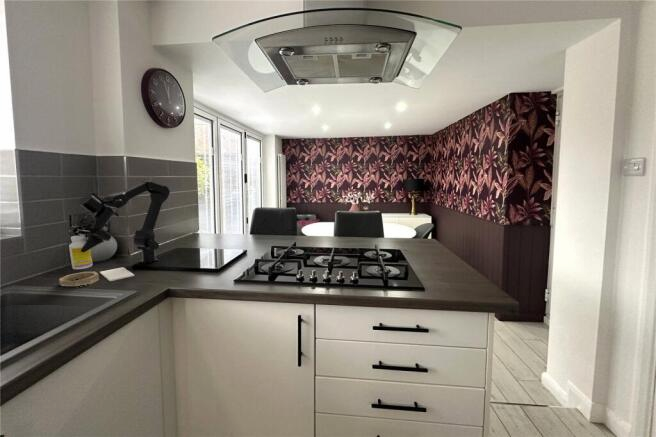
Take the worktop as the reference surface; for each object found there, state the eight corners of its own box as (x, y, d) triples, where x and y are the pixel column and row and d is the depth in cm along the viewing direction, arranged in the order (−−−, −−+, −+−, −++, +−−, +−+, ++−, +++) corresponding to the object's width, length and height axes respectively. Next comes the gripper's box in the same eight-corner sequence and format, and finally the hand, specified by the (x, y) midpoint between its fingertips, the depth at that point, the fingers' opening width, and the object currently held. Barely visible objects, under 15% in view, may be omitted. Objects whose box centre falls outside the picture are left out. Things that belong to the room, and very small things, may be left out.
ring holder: (58, 282, 131) (57, 276, 131) (94, 275, 140) (93, 269, 139) (63, 290, 123) (62, 283, 122) (101, 281, 131) (100, 276, 131)
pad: (100, 273, 143) (99, 271, 143) (123, 268, 149) (123, 267, 149) (109, 281, 132) (109, 280, 132) (134, 275, 138) (134, 274, 138)
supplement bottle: (95, 266, 132) (91, 235, 130) (76, 270, 127) (71, 239, 125) (88, 263, 136) (84, 234, 134) (69, 268, 131) (64, 237, 128)
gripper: (69, 207, 135) (43, 238, 126) (99, 208, 128) (73, 242, 119) (92, 222, 143) (68, 253, 135) (121, 224, 136) (98, 257, 128)
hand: (76, 251), depth 129 cm, fingers closed on supplement bottle, 7 cm apart
